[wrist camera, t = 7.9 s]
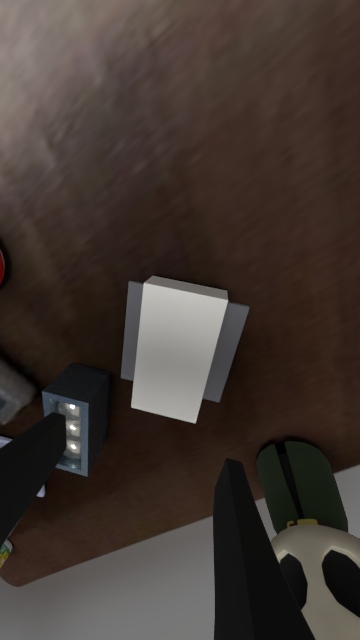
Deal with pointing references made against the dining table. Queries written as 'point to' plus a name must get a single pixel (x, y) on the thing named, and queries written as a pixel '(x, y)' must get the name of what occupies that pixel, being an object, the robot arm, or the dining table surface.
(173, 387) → the lid
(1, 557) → the supplement bottle
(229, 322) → the mat
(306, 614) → the character mug
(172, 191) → the dining table surface
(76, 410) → the tin
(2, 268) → the beer can
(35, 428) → the robot arm
